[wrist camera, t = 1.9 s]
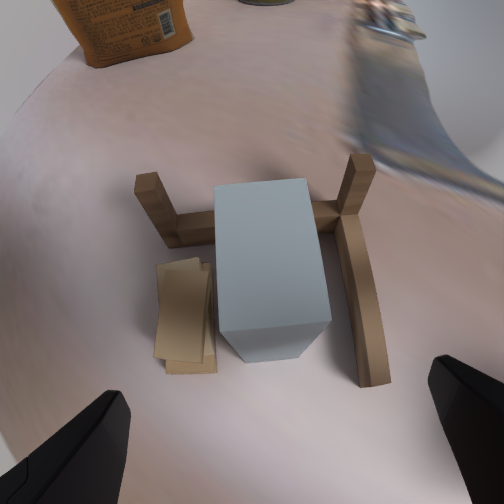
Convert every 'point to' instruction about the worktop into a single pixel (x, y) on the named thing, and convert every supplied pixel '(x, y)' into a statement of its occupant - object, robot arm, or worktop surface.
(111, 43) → the pancake mix bag
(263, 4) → the canister
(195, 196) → the worktop surface
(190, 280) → the offcut stack
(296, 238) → the grey rectangular block
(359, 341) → the rack
